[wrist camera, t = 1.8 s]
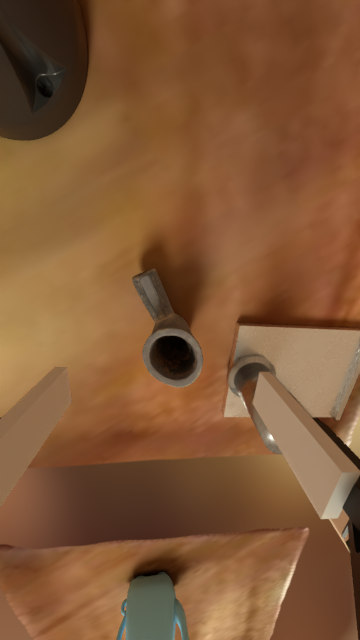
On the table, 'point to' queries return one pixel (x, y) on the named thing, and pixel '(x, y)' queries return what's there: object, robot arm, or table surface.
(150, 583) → the teapot
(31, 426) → the robot arm
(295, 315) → the table surface
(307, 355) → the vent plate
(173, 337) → the pipe
